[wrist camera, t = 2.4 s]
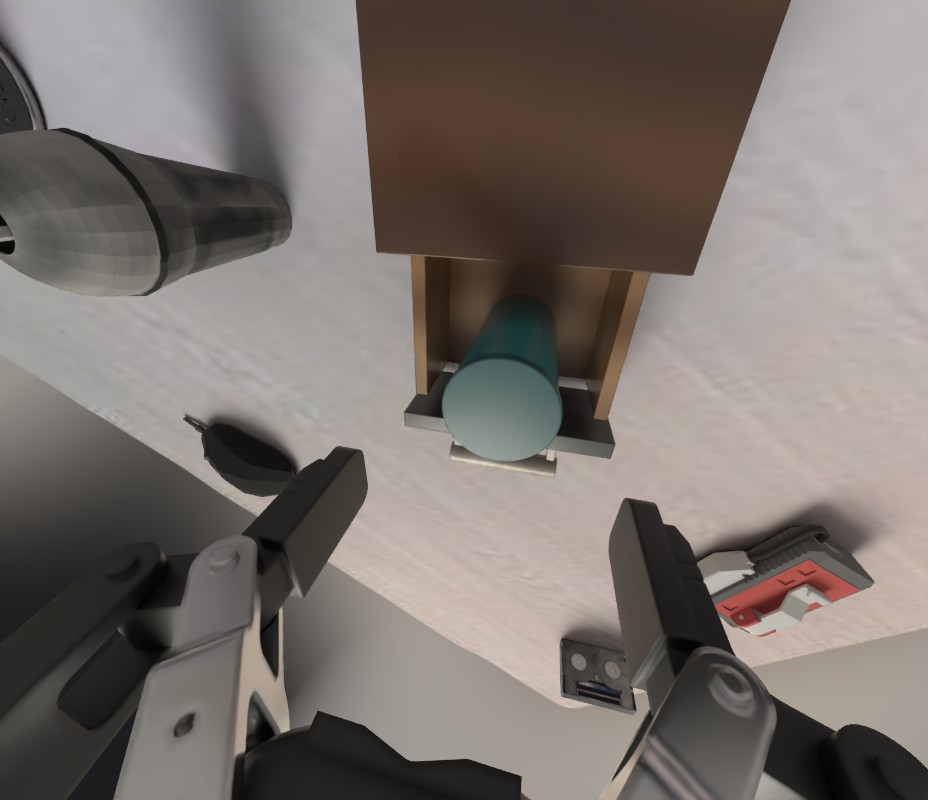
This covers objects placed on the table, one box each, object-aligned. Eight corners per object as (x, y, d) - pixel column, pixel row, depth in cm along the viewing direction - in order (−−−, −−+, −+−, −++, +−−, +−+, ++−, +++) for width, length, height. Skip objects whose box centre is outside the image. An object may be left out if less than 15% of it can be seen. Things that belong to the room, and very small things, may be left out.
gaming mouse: (187, 398, 39) (152, 417, 35) (305, 464, 40) (282, 489, 36) (184, 435, 42) (152, 455, 38) (293, 495, 43) (271, 520, 40)
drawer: (586, 447, 30) (595, 507, 24) (433, 423, 32) (407, 473, 26) (656, 190, 20) (700, 184, 14) (431, 181, 22) (389, 174, 16)
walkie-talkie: (789, 501, 29) (622, 599, 40) (824, 545, 25) (630, 641, 36) (870, 549, 30) (685, 634, 40) (917, 599, 26) (699, 678, 36)
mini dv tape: (559, 644, 47) (560, 698, 42) (561, 638, 46) (562, 692, 41) (623, 659, 45) (633, 717, 40) (626, 653, 44) (636, 711, 39)
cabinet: (645, 251, 23) (693, 276, 15) (428, 237, 25) (376, 252, 17) (759, -153, 15) (979, -525, 7) (423, -116, 17) (324, -365, 10)
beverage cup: (222, 137, 25) (-506, -7, 8) (315, 185, 25) (-191, 148, 8) (220, 239, 28) (-267, 294, 11) (300, 280, 29) (-61, 392, 12)
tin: (481, 359, 26) (441, 452, 17) (486, 289, 24) (441, 350, 14) (550, 367, 26) (551, 470, 16) (563, 296, 23) (573, 366, 13)
